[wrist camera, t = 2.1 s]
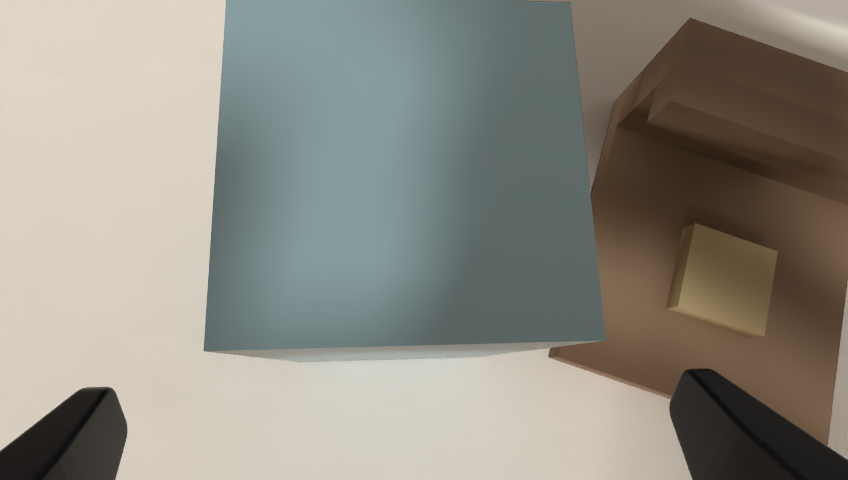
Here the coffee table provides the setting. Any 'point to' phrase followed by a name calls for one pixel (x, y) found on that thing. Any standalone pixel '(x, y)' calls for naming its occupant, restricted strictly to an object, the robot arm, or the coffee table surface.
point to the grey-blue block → (400, 182)
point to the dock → (725, 224)
